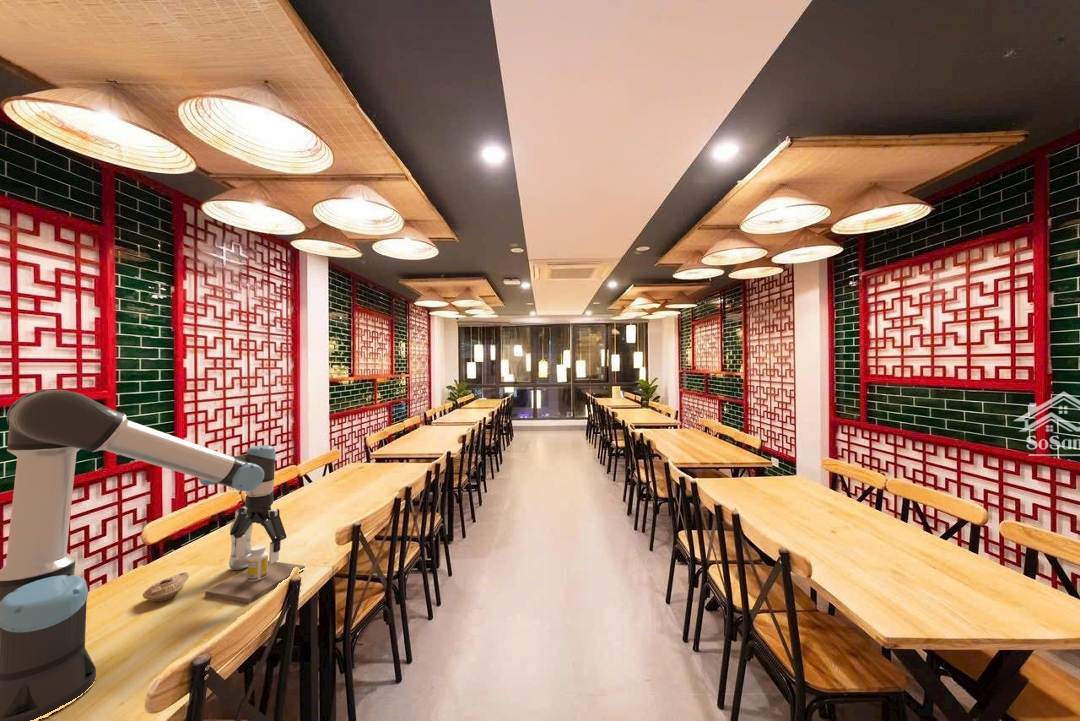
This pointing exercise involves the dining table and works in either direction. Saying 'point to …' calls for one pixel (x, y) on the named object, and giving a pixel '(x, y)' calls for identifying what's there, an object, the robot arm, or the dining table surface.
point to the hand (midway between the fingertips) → (256, 559)
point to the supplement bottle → (257, 563)
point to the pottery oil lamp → (166, 587)
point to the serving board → (251, 584)
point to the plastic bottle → (242, 561)
